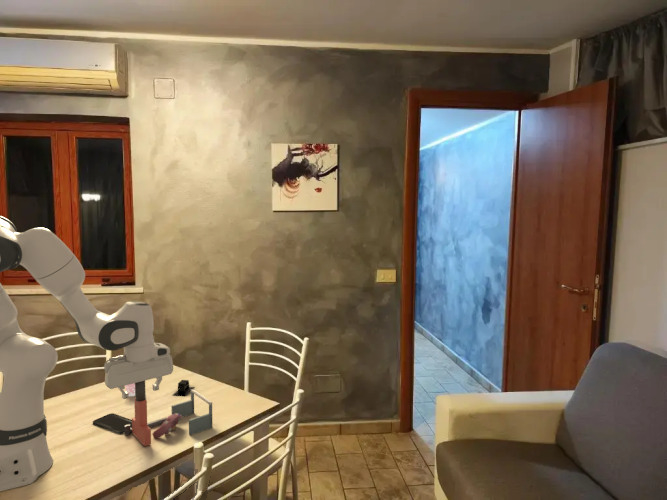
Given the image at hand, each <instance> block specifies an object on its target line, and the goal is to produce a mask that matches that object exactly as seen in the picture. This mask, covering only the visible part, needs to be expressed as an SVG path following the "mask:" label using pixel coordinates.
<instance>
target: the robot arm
mask: <svg viewBox="0 0 667 500" xmlns="http://www.w3.org/2000/svg"><path fill="white" fill-rule="evenodd" d="M19 265H20V266H22V267H23V268H24V269H26V271H28V273H29V274H30V275H31V277H32V278H33V279H34V280H35V281H36V282H37V283H38V284H39V285H40V286H41V287H42V288H44V290H45V291H46V292H48V293H49V294H50V295H52V296H53V297H54V298H56V299H57V300H58V301H59V303H60V304H61V305H62V307H64V309H65V310H66V311H67V313H68V314H69V315H70V316H71V318H72V319H73V320H74V323H75V328H76V331H77V334H78V336H79V338H80V339H81V340H82V341H83V342H84V343H87V344H90V345H94V346H95V347H97V348H101V349H103V350H106V351H109V352H110V351H111V352H113V351H117V350H121V349H123V353H124V354H122V355H118V356H114V357H110V358H108V359H107V360H106V361H105V362H104V367H103V370H104V373H105V376H104V384H105V386H106V387H107V388H108V389H110V390H113V389H117V390H119V391H120V392H121V396H122V397H121V398H122V400H127V399H129V398H130V396H128V395H129V393H128V392H127V391H126V388H125V385H129V384H133V383H137V382H141V381H145V382H146V381H148V380H152V379H156V381H155V382H154V383H153V384H152V391H154V392H155V391H160V384H161V383H162V380H163V377H164V376H168V375H169V376H170V375H172V373H173V372H174V361H173V358H172V355H171V354H170V353H171V349H170V347H168V346H167V345H166V344H164V343H160V342H155V339H154V335H153V333H154V328H155V323H154V314H153V312H154V311H153V309H152V306H151V305H150V304H149V303H147V302H144V301H139V300H138V301H137V300H134V301H133V300H129V301H126V302H125V303H124V304H123V306H121V307H120V308H119V309H118V310H117V311H115V312H114V313H112V314H108V313H106V312H104V311H101V310H99V309H96V308H95V306H94V305H93V304H92V302H91V301H90V299H88V297H87V296H86V295H85V293H84V292H83V290H82V288H81V287H82V285H83V284H84V281H85V279H86V271H85V270H84V267H83V265H82V264H81V262H80V261H79V259H78V258H77V256H76V255H75V254H74V253H73V251H72V250H71V249H70V248H69V247H68V246H67V245H66V244H65V242H63V240H61V239H60V238H59V237H58V235H56V234H55V233H54V232H53V231H51V230H50V229H48V228H45V227H34V228H30V229H28V230H26V231H23V232H18V230H17V228H16V226H15V224H14V223H13V222H12V221H11V220H9V219H8V218H6V217H4V216H2V215H0V273H2V272H6V271H9V270H13V269H16V268H17V267H18V266H19ZM18 314H19V312H18V308H17V307H16V305H15V304H14V302H13V301H12V299H11V297H10V296H9V294H8V292H7V291H6V290H5V288H4V287H3V285H2V283H1V282H0V372H1V374H2V376H3V383H2V388H1V391H0V492H3V491H9V490H12V489H15V488H19V487H23V486H27V485H30V484H33V483H34V482H35V481H36V480H37V479H38V477H40V476H41V475H43V474H44V473H45V472H47V471H48V470H49V469H50V468H51V467H52V465H53V463H54V460H53V457H52V455H51V452H50V449H49V443H48V440H47V432H48V422H47V421H48V420H47V417H46V415H45V405H44V403H45V401H44V391H45V385H46V382H47V381H46V380H47V378H48V375H50V374H51V372H52V371H53V370H54V369H55V367H56V365H57V362H58V359H59V357H58V351H57V350H56V347H54V346H53V345H51V344H50V343H49V342H47V341H46V340H44V339H43V338H39V337H35V336H31V335H28V334H27V333H25V332H24V331H23V330H22V329H21V327H20V325H19V321H18V318H17V317H18Z"/></svg>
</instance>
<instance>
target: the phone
mask: <svg viewBox="0 0 667 500" xmlns="http://www.w3.org/2000/svg"><path fill="white" fill-rule="evenodd" d="M92 424H93V426H97V427H99V428H101V429H104V430H106V431H108V432H109V431H110V432H111V433H115V434H116V435H124V426H125V425H128V424H130V428H132V418H131V419H130V418H127V417H125V416H123V415H119V414H116V413H113V412H111V413H108V414H106V415H103V416H101V417H99V418H96V419H94V420H93V421H92Z"/></svg>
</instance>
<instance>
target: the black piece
mask: <svg viewBox="0 0 667 500" xmlns="http://www.w3.org/2000/svg"><path fill="white" fill-rule="evenodd" d="M195 388H196V387H195V386H190V381H189V380H187V379H181V380H180V381H179V382H178V383H177V390H176V391H175V392H174V393H173V394H172V395H171V396H174V397H184V398H185V397H187V396H188V394H190V393H191V389H194V390H195Z"/></svg>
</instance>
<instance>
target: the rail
mask: <svg viewBox="0 0 667 500" xmlns="http://www.w3.org/2000/svg"><path fill="white" fill-rule="evenodd" d="M167 418H168V416H166V417H163V418H159V419H157V420H153V421H150V422H147V426H148V427H149V428H150V429H152V428H154V427H158V426H161V425H162V424H163V423H164V422H165V421H166V419H167ZM132 434H133V433H132V428H130V424H128V425H125V426H124V433H123V435H124V436H128V435H132Z"/></svg>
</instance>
